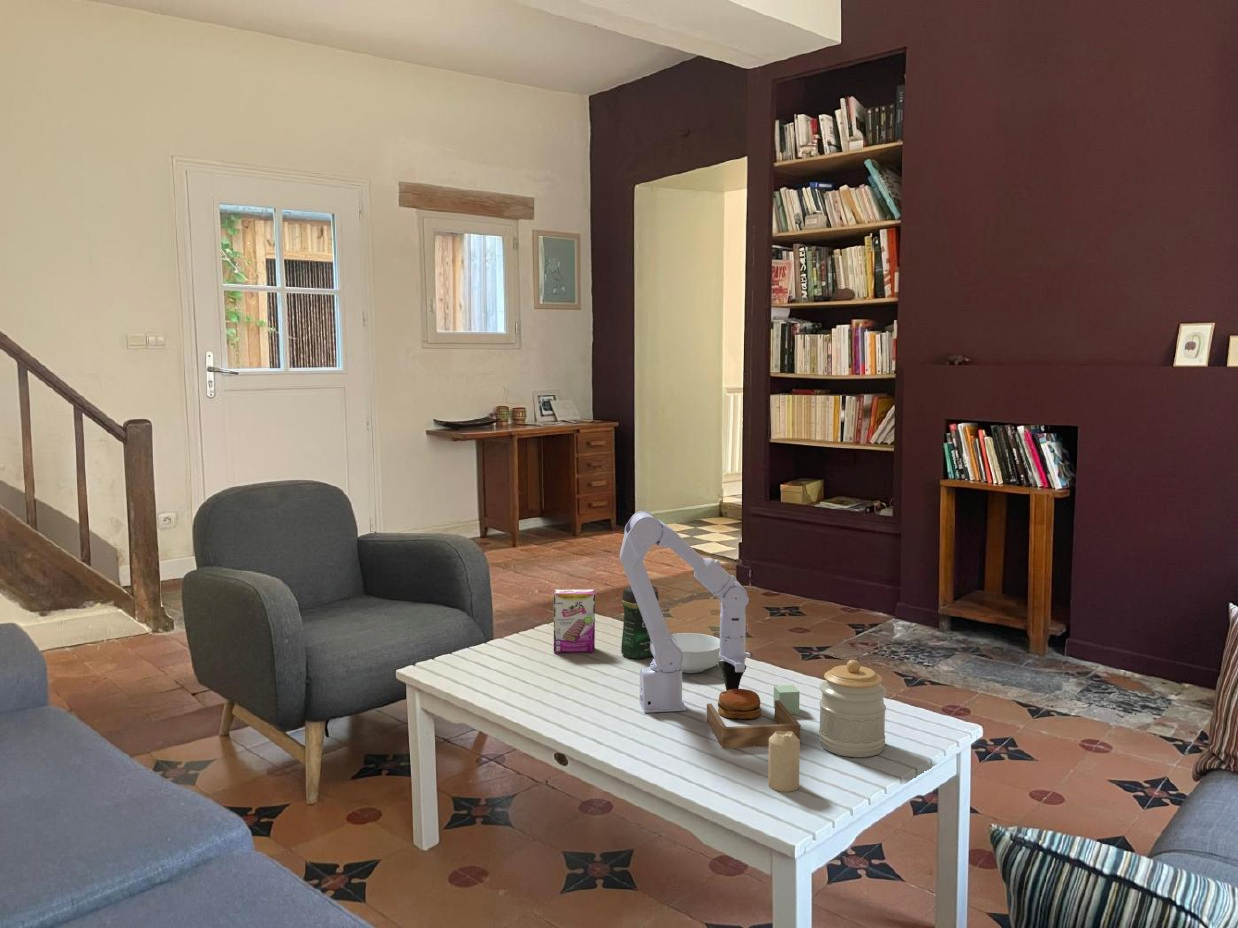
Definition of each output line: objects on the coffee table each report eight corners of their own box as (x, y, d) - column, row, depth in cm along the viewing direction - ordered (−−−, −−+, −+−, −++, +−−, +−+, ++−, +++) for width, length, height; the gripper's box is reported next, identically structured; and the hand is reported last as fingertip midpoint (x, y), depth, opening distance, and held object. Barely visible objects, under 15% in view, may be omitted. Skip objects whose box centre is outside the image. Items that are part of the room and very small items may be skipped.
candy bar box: (553, 653, 252) (553, 593, 250) (553, 648, 256) (553, 589, 255) (595, 652, 252) (595, 592, 251) (594, 647, 257) (594, 588, 256)
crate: (722, 748, 188) (722, 728, 188) (706, 721, 203) (706, 703, 202) (800, 744, 190) (800, 724, 190) (779, 717, 205) (779, 700, 204)
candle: (795, 778, 174) (796, 726, 173) (802, 791, 169) (803, 737, 168) (765, 779, 174) (766, 726, 173) (771, 792, 169) (772, 738, 168)
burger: (767, 718, 204) (767, 697, 204) (727, 722, 202) (727, 701, 201) (750, 703, 214) (750, 683, 213) (711, 707, 211) (711, 686, 211)
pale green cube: (779, 714, 207) (779, 692, 206) (773, 707, 211) (773, 685, 211) (799, 713, 207) (799, 691, 207) (792, 706, 212) (793, 684, 211)
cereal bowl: (710, 683, 228) (710, 654, 227) (647, 673, 235) (647, 645, 234) (732, 663, 243) (733, 636, 242) (673, 655, 250) (673, 629, 250)
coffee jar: (635, 661, 244) (635, 591, 243) (616, 654, 251) (616, 585, 249) (663, 654, 250) (663, 586, 249) (644, 647, 257) (644, 580, 255)
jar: (899, 750, 187) (901, 663, 185) (850, 763, 181) (852, 674, 179) (852, 728, 198) (854, 647, 197) (805, 740, 192) (806, 656, 190)
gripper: (758, 643, 205) (758, 703, 206) (741, 625, 219) (740, 682, 221) (727, 644, 204) (726, 705, 206) (711, 626, 219) (711, 683, 220)
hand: (731, 693), depth 213 cm, fingers closed
